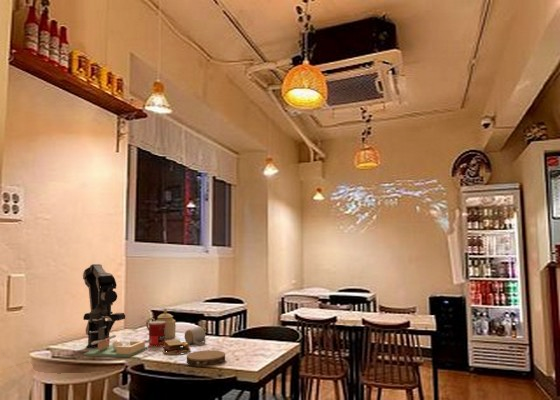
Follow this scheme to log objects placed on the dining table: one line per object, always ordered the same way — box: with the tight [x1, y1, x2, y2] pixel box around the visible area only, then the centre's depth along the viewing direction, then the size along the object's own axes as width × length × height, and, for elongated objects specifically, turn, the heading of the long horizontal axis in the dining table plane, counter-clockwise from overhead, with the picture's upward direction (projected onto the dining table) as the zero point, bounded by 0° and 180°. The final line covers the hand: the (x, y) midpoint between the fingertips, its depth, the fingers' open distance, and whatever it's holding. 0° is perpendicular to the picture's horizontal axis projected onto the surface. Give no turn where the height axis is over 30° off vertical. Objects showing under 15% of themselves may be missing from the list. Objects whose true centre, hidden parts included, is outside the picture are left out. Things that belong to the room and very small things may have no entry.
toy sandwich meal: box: [162, 339, 192, 355], centre depth 206 cm, size 12×14×5 cm
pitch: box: [83, 340, 148, 358], centre depth 207 cm, size 22×16×4 cm
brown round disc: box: [186, 349, 226, 367], centre depth 188 cm, size 16×16×3 cm
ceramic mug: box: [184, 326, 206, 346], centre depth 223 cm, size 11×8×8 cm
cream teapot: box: [145, 308, 177, 340], centre depth 241 cm, size 15×11×15 cm
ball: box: [111, 339, 123, 350], centre depth 207 cm, size 4×4×4 cm
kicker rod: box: [91, 326, 117, 350], centre depth 209 cm, size 3×17×10 cm, turn 167°
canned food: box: [148, 320, 166, 347], centre depth 223 cm, size 8×8×11 cm
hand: (103, 335), depth 209 cm, fingers closed on kicker rod, 3 cm apart
